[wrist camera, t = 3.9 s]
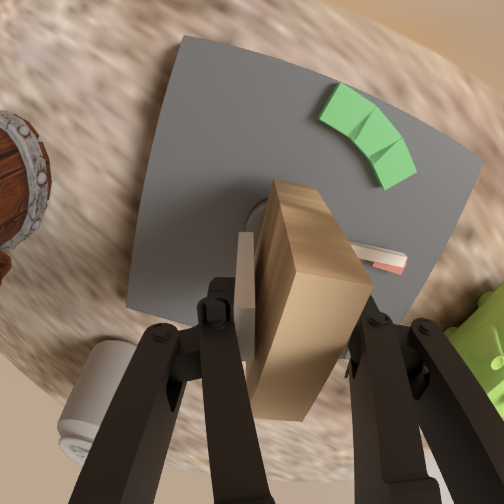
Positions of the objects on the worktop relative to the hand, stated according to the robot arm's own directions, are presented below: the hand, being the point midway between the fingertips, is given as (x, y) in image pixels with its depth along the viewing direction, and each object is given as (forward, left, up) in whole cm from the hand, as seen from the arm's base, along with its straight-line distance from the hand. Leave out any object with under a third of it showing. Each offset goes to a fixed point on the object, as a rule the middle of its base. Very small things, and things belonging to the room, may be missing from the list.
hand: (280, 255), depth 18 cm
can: (-9, -19, -6) cm, 22 cm away
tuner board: (+2, 0, -6) cm, 6 cm away
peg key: (+4, 0, -4) cm, 5 cm away
